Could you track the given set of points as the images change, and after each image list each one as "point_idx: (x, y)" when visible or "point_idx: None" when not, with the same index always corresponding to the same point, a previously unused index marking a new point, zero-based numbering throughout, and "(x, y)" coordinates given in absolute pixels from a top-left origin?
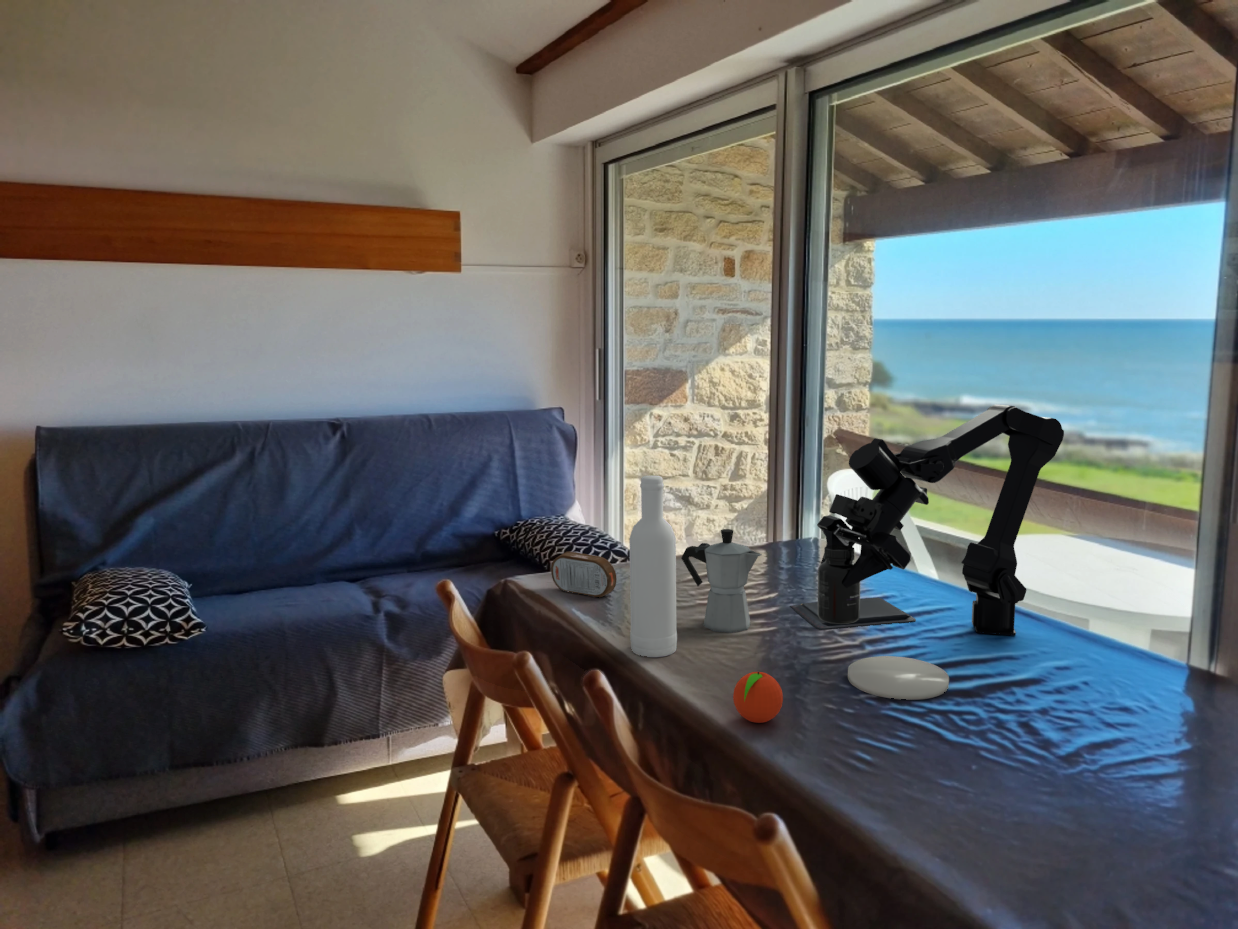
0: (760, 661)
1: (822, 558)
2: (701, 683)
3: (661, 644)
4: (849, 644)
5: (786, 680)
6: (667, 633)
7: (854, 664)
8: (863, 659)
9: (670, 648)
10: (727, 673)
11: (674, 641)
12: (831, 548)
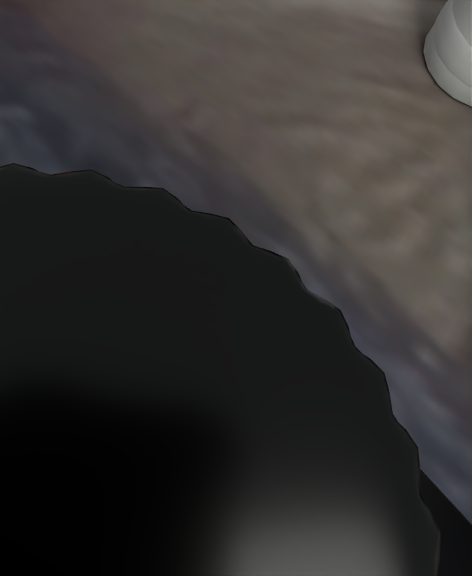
0: (272, 204)
1: (461, 514)
2: (233, 11)
3: (440, 16)
4: None
5: (119, 162)
6: (460, 7)
7: None
8: None
9: (435, 54)
10: (250, 88)
11: (451, 57)
12: (86, 304)
